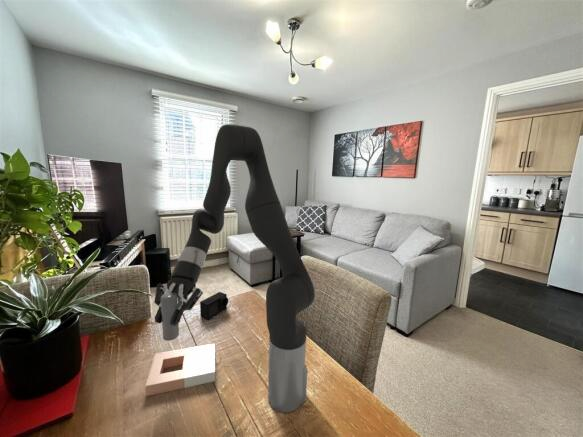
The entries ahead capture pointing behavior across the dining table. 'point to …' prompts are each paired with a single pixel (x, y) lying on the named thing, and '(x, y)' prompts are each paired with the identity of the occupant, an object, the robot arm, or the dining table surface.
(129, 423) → the dining table surface
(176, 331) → the pin
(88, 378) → the dining table surface
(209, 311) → the digital camera
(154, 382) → the block
